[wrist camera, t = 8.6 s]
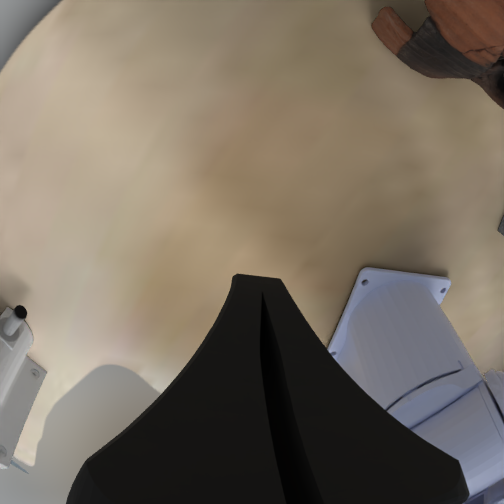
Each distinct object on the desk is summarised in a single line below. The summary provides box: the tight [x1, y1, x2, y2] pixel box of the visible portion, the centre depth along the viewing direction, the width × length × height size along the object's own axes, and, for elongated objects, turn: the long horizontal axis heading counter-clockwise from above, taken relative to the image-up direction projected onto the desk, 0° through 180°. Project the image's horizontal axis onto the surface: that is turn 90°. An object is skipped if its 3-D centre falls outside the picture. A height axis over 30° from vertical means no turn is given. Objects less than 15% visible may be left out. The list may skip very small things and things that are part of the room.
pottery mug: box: [372, 0, 504, 109], centre depth 10 cm, size 12×10×8 cm
